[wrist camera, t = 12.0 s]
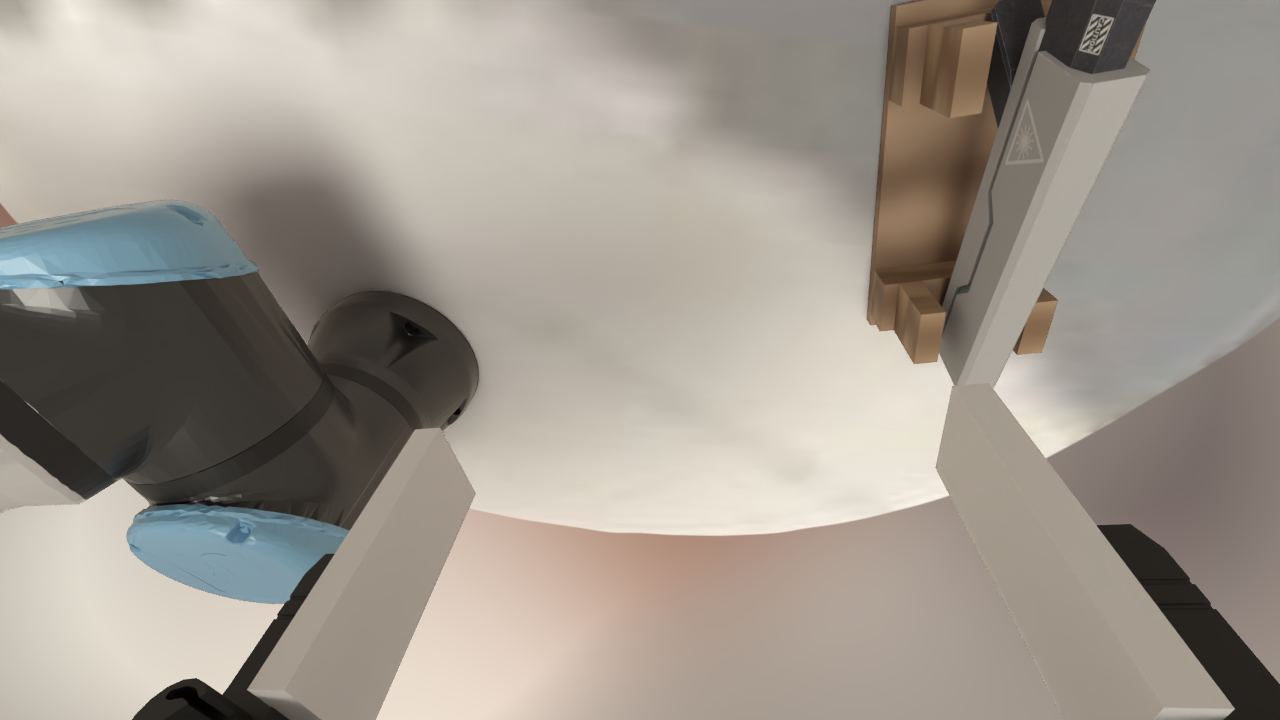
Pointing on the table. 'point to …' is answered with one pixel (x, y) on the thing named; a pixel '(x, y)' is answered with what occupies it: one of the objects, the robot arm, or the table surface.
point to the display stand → (934, 168)
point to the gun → (1037, 164)
